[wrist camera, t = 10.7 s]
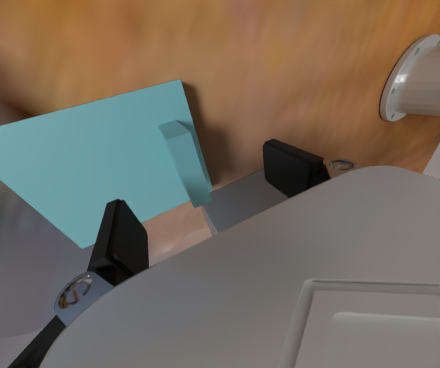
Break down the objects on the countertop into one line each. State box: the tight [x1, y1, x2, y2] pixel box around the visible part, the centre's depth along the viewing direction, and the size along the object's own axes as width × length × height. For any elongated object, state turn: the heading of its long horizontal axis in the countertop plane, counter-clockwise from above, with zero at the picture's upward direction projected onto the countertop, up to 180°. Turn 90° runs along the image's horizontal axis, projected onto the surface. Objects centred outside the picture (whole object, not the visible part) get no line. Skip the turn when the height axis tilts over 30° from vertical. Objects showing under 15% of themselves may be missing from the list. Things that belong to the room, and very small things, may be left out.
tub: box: [201, 169, 289, 236], centre depth 23 cm, size 12×9×7 cm
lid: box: [0, 79, 213, 249], centre depth 14 cm, size 15×12×7 cm
